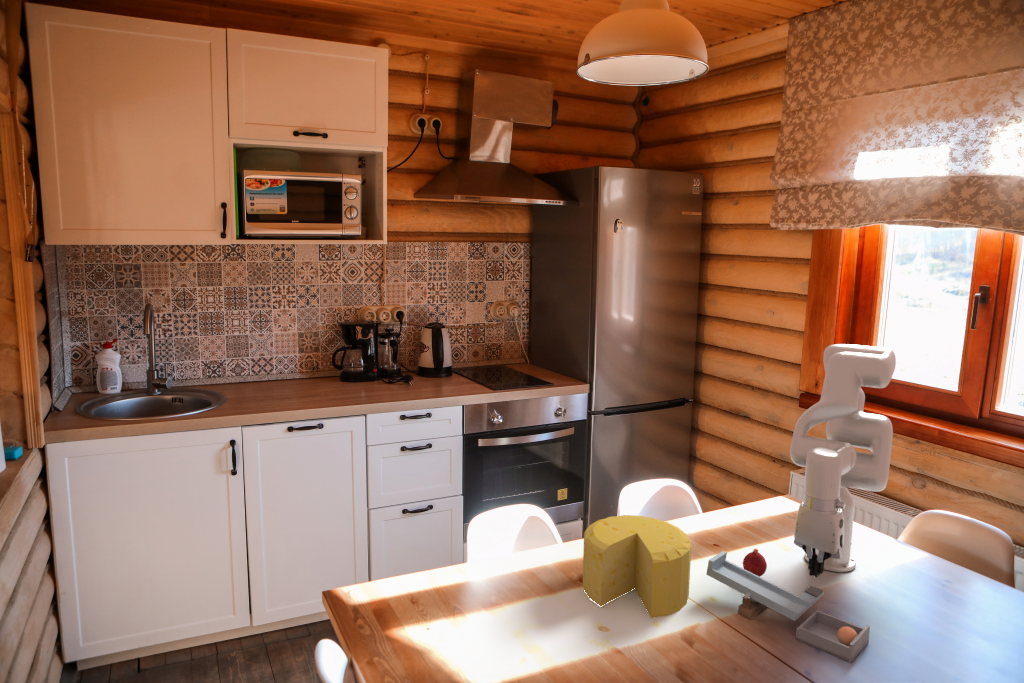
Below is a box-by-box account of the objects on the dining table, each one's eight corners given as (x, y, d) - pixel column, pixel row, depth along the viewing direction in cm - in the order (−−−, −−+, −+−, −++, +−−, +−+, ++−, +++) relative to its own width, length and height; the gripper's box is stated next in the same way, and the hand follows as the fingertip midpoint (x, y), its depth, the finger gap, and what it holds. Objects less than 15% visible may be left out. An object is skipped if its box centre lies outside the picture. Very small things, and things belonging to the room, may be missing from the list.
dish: (814, 621, 156) (815, 605, 155) (868, 642, 147) (870, 625, 147) (795, 639, 149) (796, 622, 148) (851, 663, 140) (852, 645, 140)
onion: (767, 585, 172) (769, 555, 171) (743, 582, 173) (745, 553, 172) (763, 574, 177) (765, 545, 176) (740, 571, 179) (742, 543, 177)
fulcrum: (757, 598, 165) (758, 581, 164) (770, 603, 163) (771, 586, 162) (737, 614, 158) (738, 596, 158) (750, 619, 156) (752, 601, 155)
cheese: (619, 628, 152) (621, 566, 150) (563, 576, 176) (565, 521, 173) (711, 604, 163) (714, 545, 160) (647, 557, 186) (649, 505, 184)
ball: (848, 619, 147) (864, 634, 145) (837, 631, 149) (853, 645, 147) (841, 626, 144) (857, 642, 142) (830, 638, 146) (847, 653, 144)
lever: (738, 553, 176) (740, 539, 175) (823, 595, 161) (826, 580, 160) (703, 576, 164) (705, 561, 163) (791, 623, 149) (795, 607, 148)
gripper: (861, 506, 154) (854, 579, 158) (795, 487, 165) (791, 557, 168) (848, 516, 149) (842, 592, 152) (782, 497, 160) (777, 568, 163)
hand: (815, 574), depth 160 cm, fingers closed
